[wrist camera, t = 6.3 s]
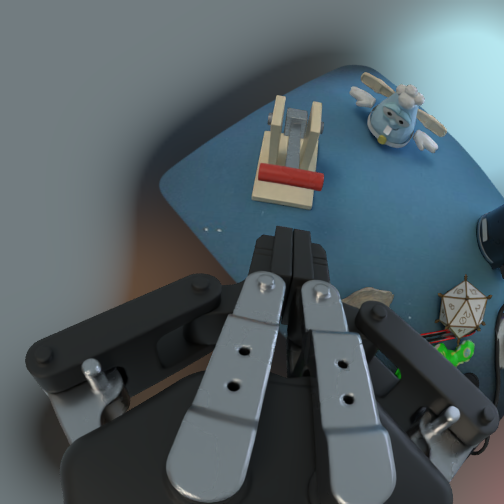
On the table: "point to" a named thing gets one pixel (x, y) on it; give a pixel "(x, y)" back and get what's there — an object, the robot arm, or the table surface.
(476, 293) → the game die
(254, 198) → the lever stand
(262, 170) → the lever
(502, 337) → the skull
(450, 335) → the red paper clip
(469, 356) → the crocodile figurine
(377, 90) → the toy figure
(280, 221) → the table surface
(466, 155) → the table surface
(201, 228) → the table surface
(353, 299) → the stone
